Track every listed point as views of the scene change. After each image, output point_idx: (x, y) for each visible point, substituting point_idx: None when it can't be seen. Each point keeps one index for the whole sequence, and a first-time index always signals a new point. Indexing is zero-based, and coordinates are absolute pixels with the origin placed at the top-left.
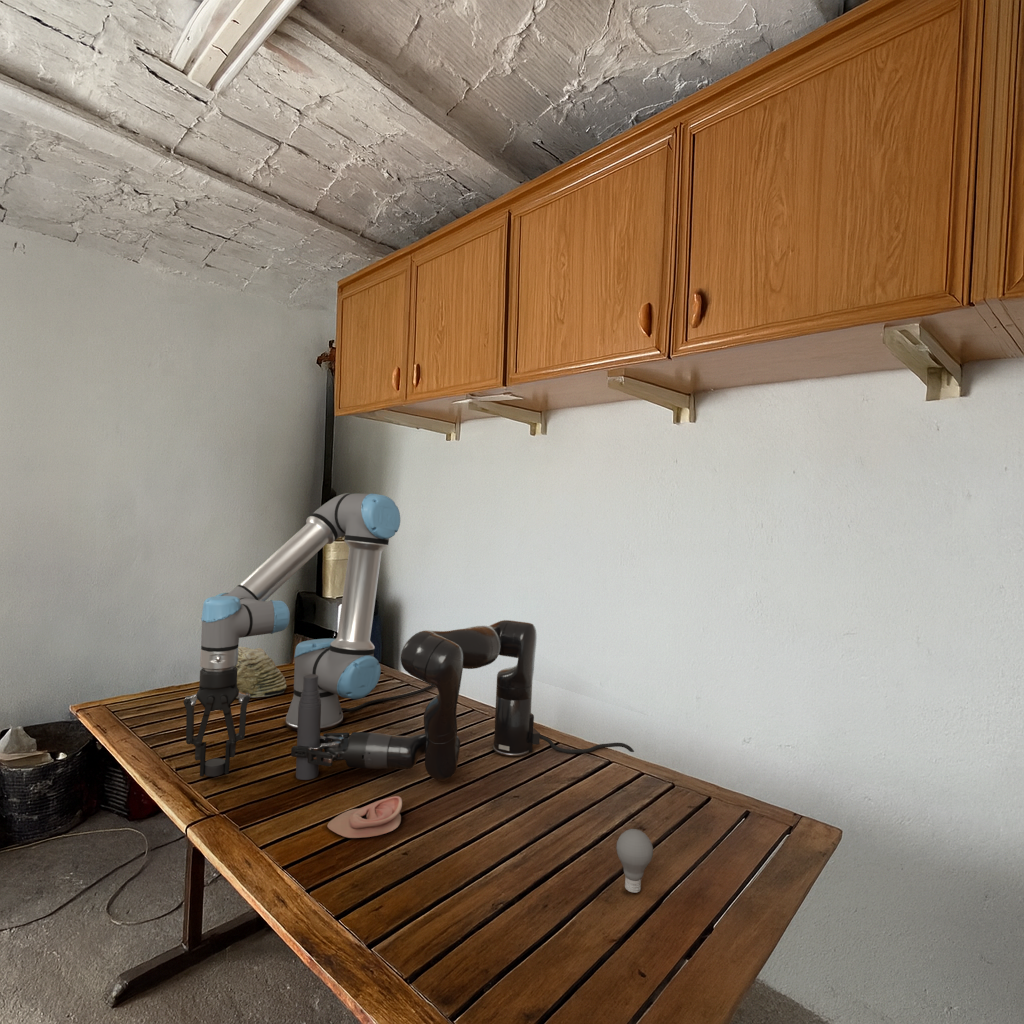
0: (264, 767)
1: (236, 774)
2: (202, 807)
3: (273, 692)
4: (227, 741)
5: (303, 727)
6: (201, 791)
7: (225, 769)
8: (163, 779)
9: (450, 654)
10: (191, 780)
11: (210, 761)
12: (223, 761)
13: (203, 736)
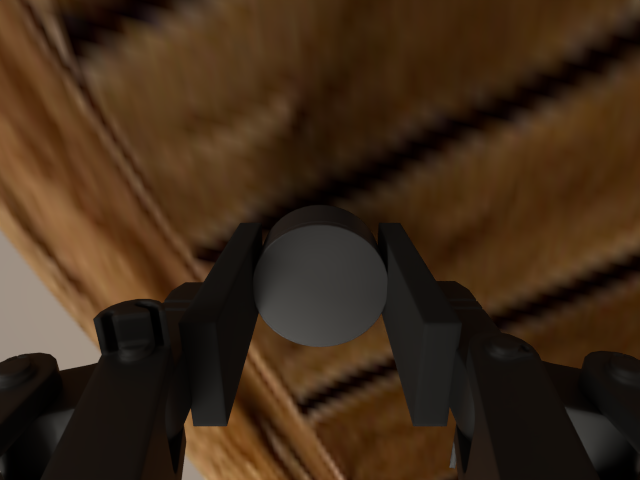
0: (595, 147)
1: (431, 208)
2: (300, 472)
3: None
4: (429, 352)
5: None
6: (276, 354)
7: None
8: (49, 179)
9: None
10: (204, 228)
11: (287, 269)
12: (373, 288)
13: (166, 401)
